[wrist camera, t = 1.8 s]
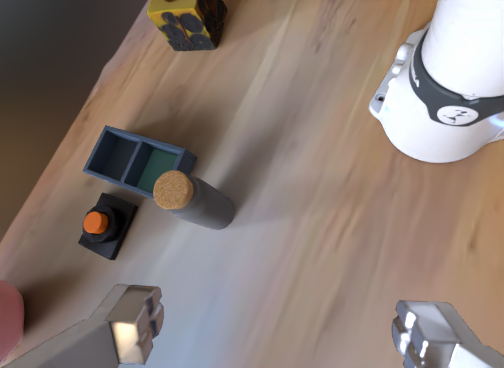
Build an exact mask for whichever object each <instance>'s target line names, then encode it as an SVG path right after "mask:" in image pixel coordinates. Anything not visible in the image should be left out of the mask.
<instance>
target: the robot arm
mask: <svg viewBox="0 0 504 368" xmlns="http://www.w3.org/2000/svg"><path fill="white" fill-rule="evenodd" d="M378 99H383V101H379V100H378ZM369 110H370V112H371V113H372V114H373V115H374V116H375V117H376V118H377V119H378V120H379V121H380V122H381V123H382V125H383V128H384V130H385V132H386V135H387V136H388V138H389V139H390V141H391V142H392V143H393V144H394V145H395V146H396V147H397V148H398V149H399V150H400V151H402V152H403V153H405V154H407V155H408V156H411V157H413V158H415V159H418V160H422V161H426V162H433V163H446V162H453V161H457V160H461V159H464V158H466V157H468V156H470V155H472V154H474V153H475V152H477V151H478V150H479V149H481V148H482V147H483V146H485V145H486V144H488V143H491V142H495V141H498V140H502V139H504V0H438V3H437V6H436V10H435V13H434V16H433V18H432V21H430V22H429V23H427V25H426V27H425V28H424V29H423V30H419V31H416V32H414V33H411V34H410V35H409V37H408V38H407V40H406V42H404V43H402V45H401V47H400V49H399V51H398V53H397V56H396V59H395V61H394V62H393V64H392V66H391V67H390V69H389V71H388V73H387V74H386V76H385V78H384V79H383V81H382V83H381V85H380V86H379V88H378V90H377V92H376V93H375V95H374V97H373V98H372V100H371V102H370V104H369ZM161 297H162V294H161V288H159V287H154V286H142V285H125V284H117V285H115V286H114V287H113V288H112V289H111V291H110V292H109V293H108V294H107V296H106V297H105V298H104V300H103V301H102V302H101V304H100V305H99V306H98V307H97V309H96V310H95V311H94V313H93V314H92V315H91V317H90V318H89V319H88V320H82V321H80V322H79V323H77V324H75V325H73V326H72V327H70V328H68V329H67V330H65V331H63V332H61V333H60V334H58V335H56V336H55V337H53V338H51V339H49V340H48V341H46V342H44V343H43V344H41V345H39V346H37V347H36V348H34V349H32V350H31V351H29V352H27V353H25V354H24V355H22V356H20V357H19V358H17V359H15V360H13V361H12V362H10V363H8V364H7V365H5V366H3V367H1V368H117V367H118V366H119V364H131V365H145V363H146V361H147V359H148V357H149V355H150V352H151V350H152V348H153V342H152V339H154V338H155V337H156V336H157V335H159V332H160V330H161V327H162V323H163V319H164V308H163V305H162V304H161V303H160V302H159V301H160V299H161ZM396 311H397V313H398V316H397V317H396V318H395V319H393V322H392V338H393V342H394V345H395V347H396V349H397V351H398V352H399V353H400V354H401V355H403V356H404V357H405V359H404V362H403V365H404V367H405V368H504V355H502V354H501V353H499V352H498V351H496V350H494V349H493V348H491V347H490V346H485V345H483V344H482V343H481V342H480V340H479V339H478V338H477V337H476V335H475V334H474V333H473V332H472V330H471V329H470V328H469V326H468V325H467V324H466V323H465V321H464V320H463V319H462V317H461V316H460V315H459V314H458V312H457V311H456V310H455V309H454V307H453V306H452V305H451V304H450V303H448V302H426V301H405V300H399V302H398V303H397V305H396Z"/></svg>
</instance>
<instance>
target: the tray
mask: <svg viewBox="0 0 504 368" xmlns="http://www.w3.org/2000/svg"><path fill="white" fill-rule="evenodd" d="M196 159H197V157H195V156H194V155H193V154H192V153H191V152H189V151H188V150H187V149H185V148H182V147H178V146H175V145H172V144H168V143H165V142H161V141H158V140H155V139H151V138H148V137H144V136H141V135H137V134H134V133H131V132H127V131H124V130H120V129H117V128H114V127H110V126H107V125H105V127H104V129H103V131H102V133H101V135H100V137H99V139H98V141H97V143H96V145H95V147H94V149H93V151H92V153H91V155H90V157H89V159H88V161H87V163H86V165H85V167H84V169H83V171H82V172H84V173H87V174H89V175H92V176H94V177H97V178H100V179H102V180H105V181H107V182H110V183H113V184H115V185H118V186H120V187H123V188H126V189H128V190H131V191H133V192H136V193H139V194H141V195H144V196H147V197H149V198H152V199H154V195H153V190H154V186H155V183H156V181H157V180H158V178H159V177H160V176H161V175H162V174H164V173H165V172H168V171H171V170H177V171H180V172H182V173H184V174H188V175H190V173H191V171H192V169H193V166H194V164H195V162H196ZM154 200H155V199H154Z"/></svg>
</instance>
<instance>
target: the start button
mask: <svg viewBox="0 0 504 368" xmlns="http://www.w3.org/2000/svg"><path fill="white" fill-rule="evenodd" d="M107 226H108V217H107V215H105V214H103V213H99V212H91V213H89V214H88V215H87V216H86V218H85V220H84V229H85V230H86V231H87V232H88V233H95V234H100V233H102V232H104V231H105V230H106V228H107Z"/></svg>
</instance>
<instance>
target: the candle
mask: <svg viewBox="0 0 504 368" xmlns="http://www.w3.org/2000/svg"><path fill="white" fill-rule="evenodd" d="M226 12H227V8H226V6H225V4H224V1H222V0H150V3H149V6H148V9H147V14H148V16H149V17H150V19H151V20H152V21H153V23H154V24H155V25H156V26H157V28H159V30H161V32H162V34H163V35H164V36H165V37H166V38H167V41H168V43H169V44H170V45H171V46H172V48H173V49H174V50H175V51H187V50H188V51H192V50H210V49H212V50H214V49H216V48H217V47H218V43H219V39H220V36H221V33H222V29H223V25H224V23H223V20H224V17H225V15H226Z"/></svg>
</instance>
